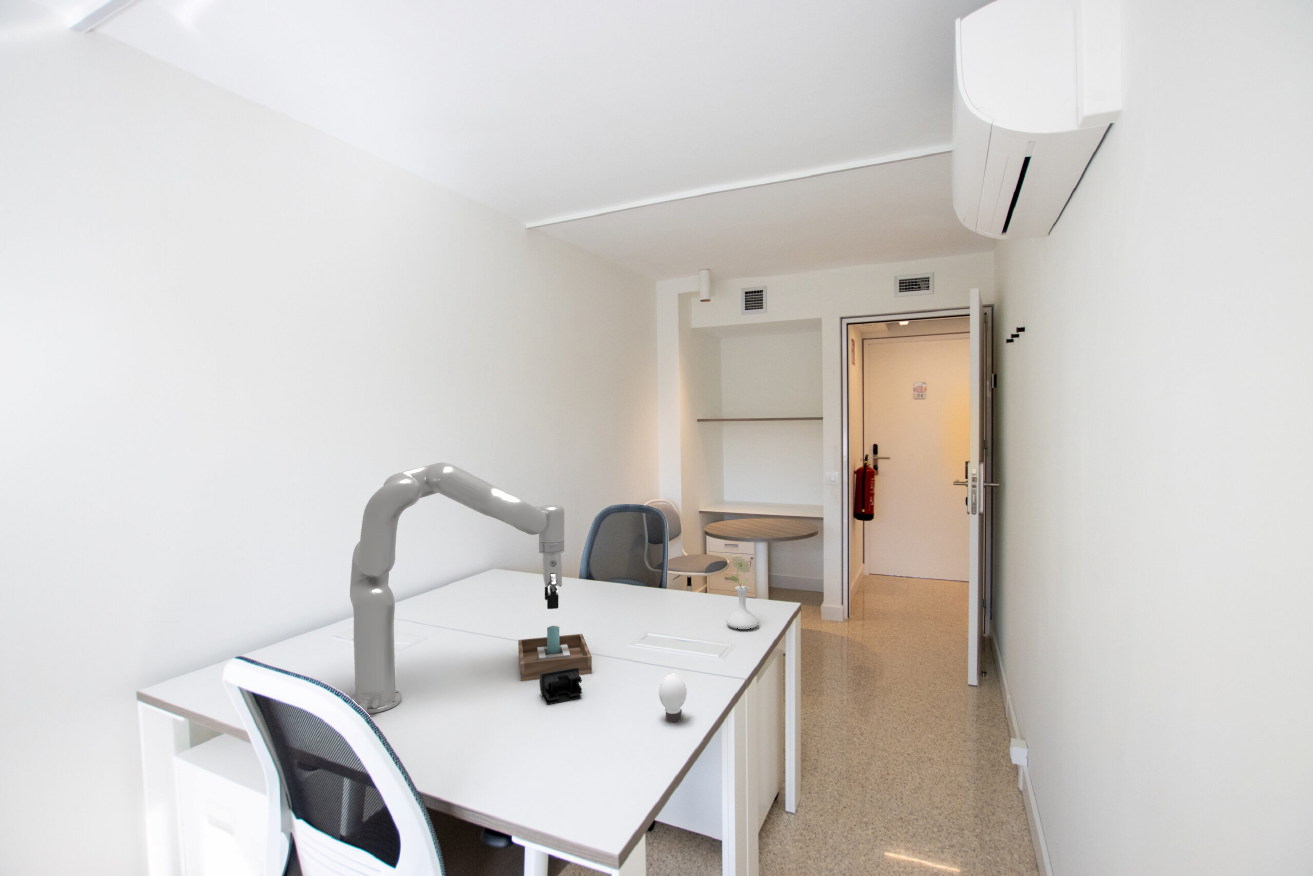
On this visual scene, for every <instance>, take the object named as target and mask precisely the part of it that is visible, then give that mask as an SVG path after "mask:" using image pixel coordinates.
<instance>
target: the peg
mask: <svg viewBox="0 0 1313 876" xmlns="http://www.w3.org/2000/svg"><path fill="white" fill-rule="evenodd" d="M546 629H547V630H546V633H547V634H546V637H547V655H551V654H560V644H559V636H560V626H558V625H549V626H548V627H547V628H546Z"/></svg>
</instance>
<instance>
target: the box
mask: <svg viewBox="0 0 1313 876" xmlns="http://www.w3.org/2000/svg"><path fill="white" fill-rule="evenodd" d="M559 644H560V654H551V655H547V636H546V637H545V636H544V637H536V638H535V637H533V638H526V639H525V638H524V639H518V641H517V646H518V647H517V648H518V652H517V653H518V664H519V665H518V666H519V676H520V682H527V681H534V680H535V681H536V680H540V675H541V673H546V672H552V671H558V670H564V669H570V668H576V667H577V668H579V675H580V676H581V675H590V674H592V673H593V671H592V669H593V668H592V666H593V665H592V659H593V658H592V654H591V651H590V650H589V649H590V648H589V647H588V644H587V642H586V639H585V636H584V634H583V633H577V634H567V635H566V634H565V635H559Z"/></svg>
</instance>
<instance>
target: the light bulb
mask: <svg viewBox="0 0 1313 876" xmlns="http://www.w3.org/2000/svg"><path fill="white" fill-rule="evenodd" d="M658 696H659V700H660V702H661V703H660V704H661V705H662V706H663V707H664V711H665V720H666V721H667V722H669V723H679V722H681V721H682V718H683V715H682V714H683V713H682V712H683V711H682V710H683V709H682V708H681V707H683V705H684V704H685V701H686V699H687V686H686V682H685V681H684V679H683V678H682V677H681V676H680V675H679V674H677V673H672V672H671V673H668V674H666V675H665V676H664V677H663V678H662V679H661V681H660V683H659V686H658Z"/></svg>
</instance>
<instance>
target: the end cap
mask: <svg viewBox="0 0 1313 876" xmlns="http://www.w3.org/2000/svg"><path fill="white" fill-rule="evenodd" d="M582 680H583V679H582V677H581V675H579V668H577V667H576V668H570V669H564V670H558V671H552V672H546V673H541V675H540V679H539V690H540V695H541V696H542V698H543V699H544V702H545V703H546V705H547V706H551V705H556V704H563V703H567V702H572V701H578V700H582V690H583V688H582V687H581V685H580V684H581V683H582Z"/></svg>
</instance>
